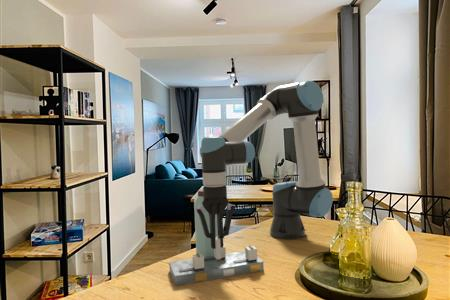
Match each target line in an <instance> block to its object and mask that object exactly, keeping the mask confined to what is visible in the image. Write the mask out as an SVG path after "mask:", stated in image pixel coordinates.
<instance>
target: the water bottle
mask: <svg viewBox="0 0 450 300" xmlns="http://www.w3.org/2000/svg"><path fill="white" fill-rule="evenodd" d="M202 202H203V188H201V189H198V190H197V196H196V197H195V198H194V199H193V208H194V229H195V232H194V233H195V252H196V253H198V254H202V255H203V256H204V257H208V256H214V249H212V247H211V238H207V237H206V236H205V234H204V231H203V227H202V224H201V220H200V217H199V214H198V213H197V212H196V208H199V207H200V206H201V205H202ZM203 214H204V216H205V219H206V223H207V226H208V230H209V233H210V221H209V213H208V212H207V211H206V209H205V208H204V213H203ZM215 233H216V237H218V229H217V214H215Z"/></svg>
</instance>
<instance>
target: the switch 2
mask: <svg viewBox="0 0 450 300" xmlns="http://www.w3.org/2000/svg"><path fill="white" fill-rule="evenodd" d="M226 251H227V250H226V246H225V245H224V244H223V247H222V248H221V258H224V257H226V254H227V253H226Z"/></svg>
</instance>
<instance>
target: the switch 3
mask: <svg viewBox="0 0 450 300" xmlns="http://www.w3.org/2000/svg"><path fill="white" fill-rule="evenodd" d="M244 251H245V257H246V258H247V259H248V260H249V261H250V260H256V259H257V257H258V248H257V247H255V246H254V245H248V246H246V247H244Z"/></svg>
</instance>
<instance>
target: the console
mask: <svg viewBox="0 0 450 300" xmlns="http://www.w3.org/2000/svg"><path fill="white" fill-rule="evenodd" d="M168 265H169V273H170V275H171V278H172V281H173V283H174V285H175V287H177V286H182V285H189V284H194V283H199V282H201V283H202V282H206V281H212V280H217V279H223V278H228V277H235V276H240V275H241V276H242V275H246V274H247V275H248V274H251V273H259V272H263V271H264V270H265V269H264V268H265V267H264V265H265V264H264V261H263V260H262V259H261V258H259V256H257V259H256V260H250V261H249V260H248V259H247V258H246V257H245V250H241V251H236V252H229V253H226V257H224V258H221V259H216V258H215V257H214V256H208V257H204V268H200V269H195V268H194V267H193V258H189V259H182V260H175V261H169V262H168Z"/></svg>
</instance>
